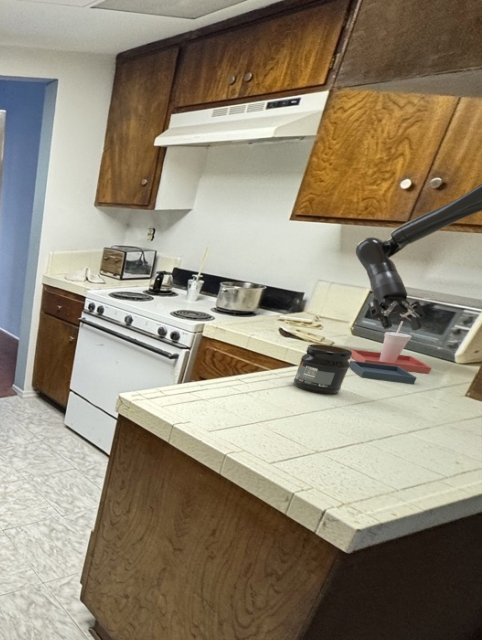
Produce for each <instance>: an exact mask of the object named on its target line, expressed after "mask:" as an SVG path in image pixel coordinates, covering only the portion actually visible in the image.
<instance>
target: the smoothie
mask: <svg viewBox="0 0 482 640" xmlns="http://www.w3.org/2000/svg"><path fill="white" fill-rule="evenodd" d="M403 324H404V321H403V320H401V321H400V323H399V325H398V328H397V330H396V332H395V331H394V332H393V331H385V332H384V339H383V342H382V346H381V351H380V353H381V355H380V359H379V361H383V362H391V363H395V361H396V359H397V358H398V356H399V355H401V354H402V352H403V350H404V348H405V347H406V345H407V344H408V342H409V341H410V340H412V338H413V337H412V335H410V334H407V333H402V332H400V331H401V328H402V326H403Z"/></svg>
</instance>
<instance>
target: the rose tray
mask: <svg viewBox="0 0 482 640" xmlns="http://www.w3.org/2000/svg"><path fill="white" fill-rule="evenodd" d="M350 351H351V352H352V355H351V358H352V359H354V361H358V362H366V363H375V364H383V365H391V366H399V367H401V368H402V369H404V370H405V371H407V372H411V373H420V374H427V375H428V374H430V372H431V370H432V367H431V366H429V365H428V364H426V363H424V362H422V361H421V360H419V359H417V358H415V357H414V356H412V355H404V354H400V355H399V356H398V358H397V359H396V361H395V363H391V362H383V361H379V359H380V355H381V352H378V351H368V350H360V349H350Z"/></svg>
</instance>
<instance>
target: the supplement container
mask: <svg viewBox="0 0 482 640" xmlns="http://www.w3.org/2000/svg"><path fill="white" fill-rule="evenodd" d="M350 350H351V349H350ZM350 350H349V349H347V348H344V347H339V346H336V345H329V344H328V345H327V344H318V343H314V344H309V345H308V346H307V347H306V350H305V352H306V353H305V354H303V355H302V356H301V358H300V362H299V365H298V367H297V370H296V374H295V376H294V378H293V384H294V385H295V386H296V387H297V388H300V389H302V390H305V391H309V392H312V393H316V394H323V395H324V394H325V395H329V394H330V395H332V394H336V393H339V392H340V390H341V389H342V385H343V383H344V380H345V377H346V375H347V373H348V370H349V369H350V368H349V367H350V363H349V362H350V360H351V358H352V357H351V355H352V352H351V351H350Z"/></svg>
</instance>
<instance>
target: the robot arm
mask: <svg viewBox="0 0 482 640" xmlns="http://www.w3.org/2000/svg"><path fill="white" fill-rule="evenodd" d="M481 212H482V183H481V184H479V185H478V186H476V187H474V188H473V189H472V190H470V191H468V192H467V193H465V194H464V195H462V196H460V197H458V198H456V199H454V200H452V201H450V202H449V203H446V204H444V205H442V206H440V207H438V208H435V209H432V210H430V211H428V212H426V213H423V214H421V215H419V216H417V217H414V218H413V219H411V220H409V221H407V222H404V223H403V224H400V225H398V226H396V227H395V228H394V229H393V230H391V232H390V237H389V238H387V239H386V240H382V239H380V238H377V237H374V236H373V237H366V238H364V239H362V240H360V241H359V242H358V243H357V245H356V247H355V255H356V257H357V259H358V260H359V263H360V264H361V265H362V267H363V268H364V270H365V271H366V274H367V278H368V280H369V284H370V289H371V293H372V295H373V297H374V300H372V301H370V302H369V303H367V304H368V309H369V313H370V316H371V318H372V319H375V318H376V319H378V321H380V325H381V327H382V328H383V329H384V330H389V329H390V328H392V327H393V324H392V320H391V318H390V316H389V315H395V316H396V315H398V316H400V317H402V318H406V320H408V323H409V325H410V328H411V330H412V331H419V329H421V328H422V323H421V321H420V319H421V318H423V317H426V313H425V311H424V309H423V307H422V304H421V303H420V301H419V300H415V301H413V302H409V300H408V299H407V297H408V292H407V290H406V286H405V284H404V282H403V278H402V277H401V276H400V274H399V272H398V269H397V267H396V264H395V263H394V261H393V260H392V259H391V257H393V256H394V255H396V254H398V253H399V252H400V251H402V250H403V249H404V248H406V247H407V246H409V245H411V244H413V243H415V242H417V241H419V240H421V239H422V240H423V239H425V238H426V237H428V236H430V235H432V234H435V233H436V232H439V231H440V230H442V229H444V228H446V227H448V226H450V225H453V224H455V223H456V222H458V221H460V220H463V219H465V218H468V217H470V216H472V215H475V214H477V213H481Z"/></svg>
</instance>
